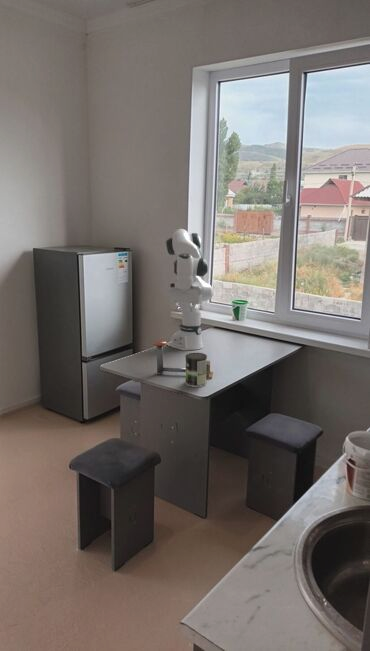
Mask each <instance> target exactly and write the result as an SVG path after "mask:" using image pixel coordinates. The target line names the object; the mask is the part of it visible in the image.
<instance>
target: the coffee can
mask: <svg viewBox="0 0 370 651" xmlns="http://www.w3.org/2000/svg"><path fill="white" fill-rule="evenodd" d="M207 359H208V355H207V354H205V353H203V352H189V353H186V354H185V368H186V372H185V385H186V386H188V387H191V386H192V388H200V387H204V386H206V384H207V379H206V361H208V360H207Z"/></svg>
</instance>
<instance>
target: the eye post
mask: <svg viewBox="0 0 370 651" xmlns="http://www.w3.org/2000/svg"><path fill="white" fill-rule="evenodd" d="M213 374H214V372H213V371H211V361H210V360H207V361H206V380H212V379H213Z"/></svg>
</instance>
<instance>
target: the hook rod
mask: <svg viewBox="0 0 370 651" xmlns="http://www.w3.org/2000/svg"><path fill="white" fill-rule="evenodd" d="M152 342H153V343H152V344H153V346H156V374H157V373H160V374H159V375H162V374H161V373H163V374H164V372H165V373H166V372H168V373H169V372H170V373H186V367H184V368H182V367H181V368H180V367H164V346H167V341H166V340H164V339H156V340H153V341H152Z"/></svg>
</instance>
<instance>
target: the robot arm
mask: <svg viewBox="0 0 370 651" xmlns="http://www.w3.org/2000/svg"><path fill="white" fill-rule="evenodd" d="M201 247H202V239H201V237H200V235H199V233H197V232H191V233H189V232H188V231H187V230H186V229H183V228H178V229H176V230H175V231H174V232H173V235H172V237H169V238H168V239H167V240H166V241H165V250H166V252H167V253H168V255H170V256H175V255H177V259H176V260H175V261H174V262H173V274H175V275H176V281H173V282H170V283H169V284H168V287H169V288H168V295H167V296H168V300H169V301H173V304H174V305H175V309H176V310H180V312H181V316H182V317H181V319H182V323H181V324H179V325H178V328H179V330H177V331H176V332H175V333H174V334H173V333H172V336H171V339H170V341H169V342H167V343H166V346H167V345H168V347H170V346H171V347H170V348H174V349H177V350H181V351H193V350H194V351H195V350H201V349H203V348H204V345H203V340H202V323H201V321H202V316H201V315H202V313H201V310H200V309H199V308H197V307H196V306H197V305H200V304H202V302H207V301H210V300H211V299H212V298H213V295H214V289H213V287H212V285H211V284H209V283H208V282H207V281H205V280H203V279H202V277H205V275H207V273H208V269H209V265H208V261H207V260H206V259H205V257H204V255H203V253H202V251H201Z"/></svg>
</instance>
